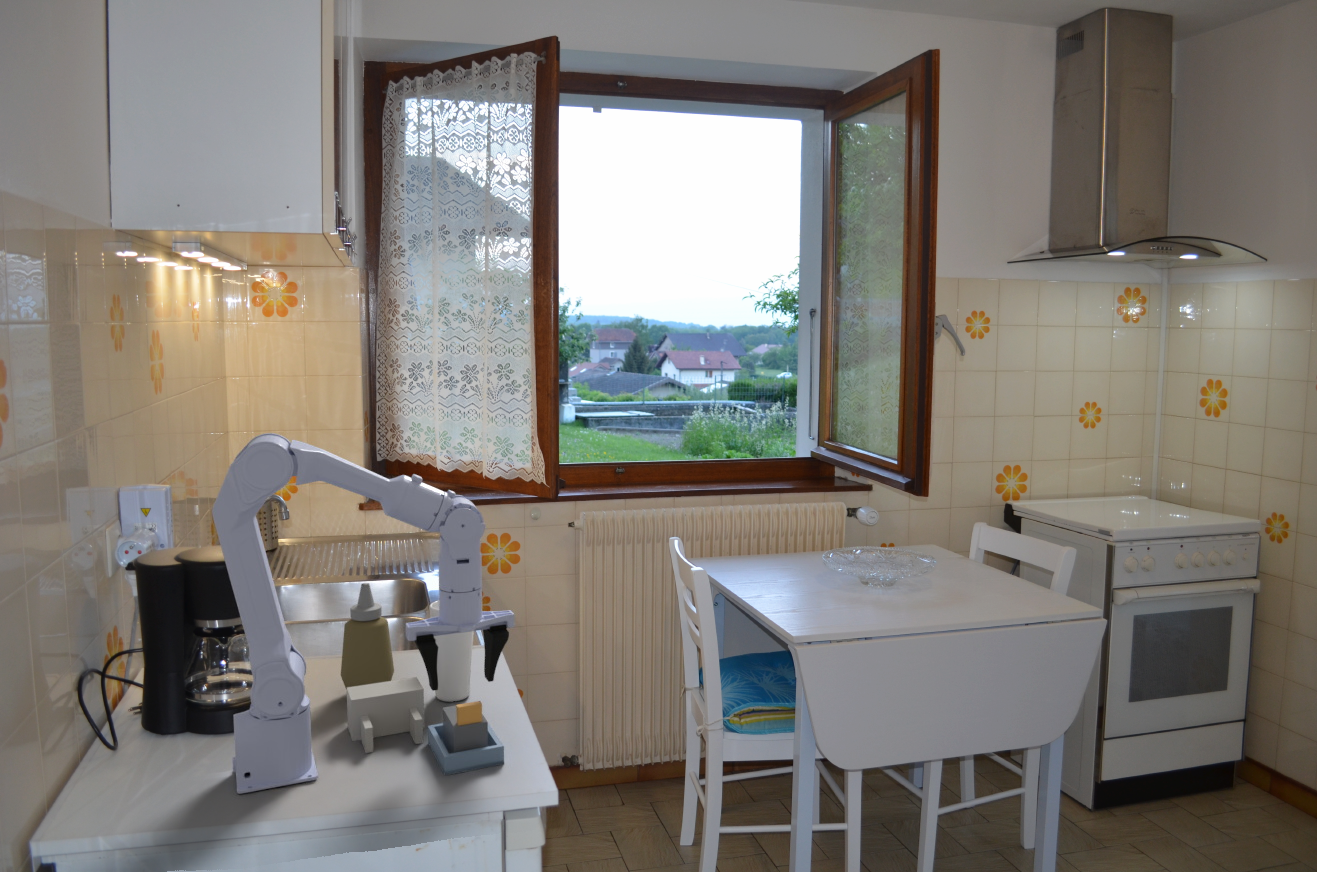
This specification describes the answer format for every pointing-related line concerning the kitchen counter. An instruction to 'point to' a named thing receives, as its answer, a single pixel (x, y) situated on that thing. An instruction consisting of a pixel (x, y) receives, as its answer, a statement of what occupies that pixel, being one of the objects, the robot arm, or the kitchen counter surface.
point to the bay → (385, 710)
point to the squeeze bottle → (366, 644)
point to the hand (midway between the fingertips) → (461, 683)
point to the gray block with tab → (464, 727)
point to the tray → (465, 753)
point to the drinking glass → (453, 662)
